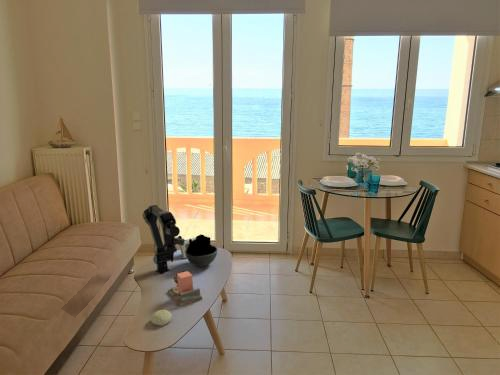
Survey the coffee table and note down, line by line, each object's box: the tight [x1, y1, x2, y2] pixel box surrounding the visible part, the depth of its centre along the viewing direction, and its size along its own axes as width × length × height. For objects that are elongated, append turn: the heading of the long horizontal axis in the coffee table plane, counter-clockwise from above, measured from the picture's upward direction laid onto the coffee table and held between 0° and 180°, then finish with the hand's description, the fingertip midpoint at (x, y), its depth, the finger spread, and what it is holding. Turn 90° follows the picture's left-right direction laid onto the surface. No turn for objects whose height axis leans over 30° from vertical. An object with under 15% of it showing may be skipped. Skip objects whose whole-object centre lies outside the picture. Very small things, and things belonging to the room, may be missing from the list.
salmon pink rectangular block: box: [176, 270, 194, 294], centre depth 199 cm, size 6×6×11 cm
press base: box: [167, 286, 203, 307], centre depth 201 cm, size 18×12×6 cm, turn 31°
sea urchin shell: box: [150, 309, 173, 326], centre depth 179 cm, size 9×8×8 cm
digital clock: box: [179, 236, 196, 259], centre depth 254 cm, size 16×9×11 cm, turn 122°
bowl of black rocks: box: [185, 234, 218, 268], centre depth 237 cm, size 20×20×19 cm
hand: (172, 261), depth 216 cm, fingers closed
